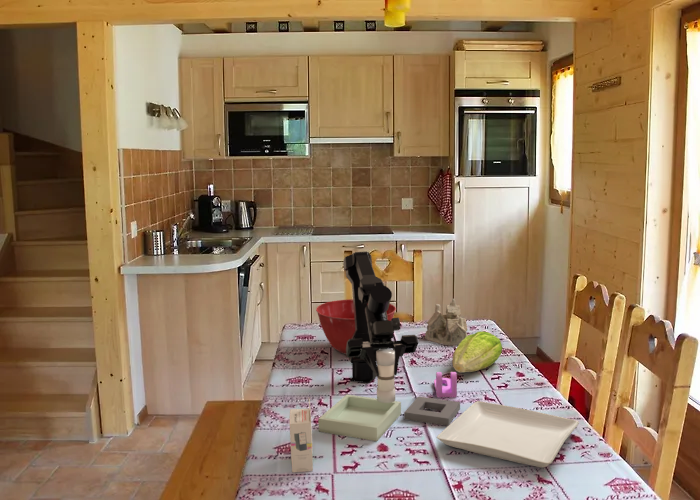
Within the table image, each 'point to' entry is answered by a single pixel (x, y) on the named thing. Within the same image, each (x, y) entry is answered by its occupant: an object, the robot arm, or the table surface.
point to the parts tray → (359, 417)
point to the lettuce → (476, 352)
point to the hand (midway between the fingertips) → (386, 375)
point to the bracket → (446, 390)
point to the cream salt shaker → (385, 375)
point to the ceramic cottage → (447, 326)
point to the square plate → (509, 433)
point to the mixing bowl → (341, 321)
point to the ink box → (301, 440)
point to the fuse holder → (419, 414)
